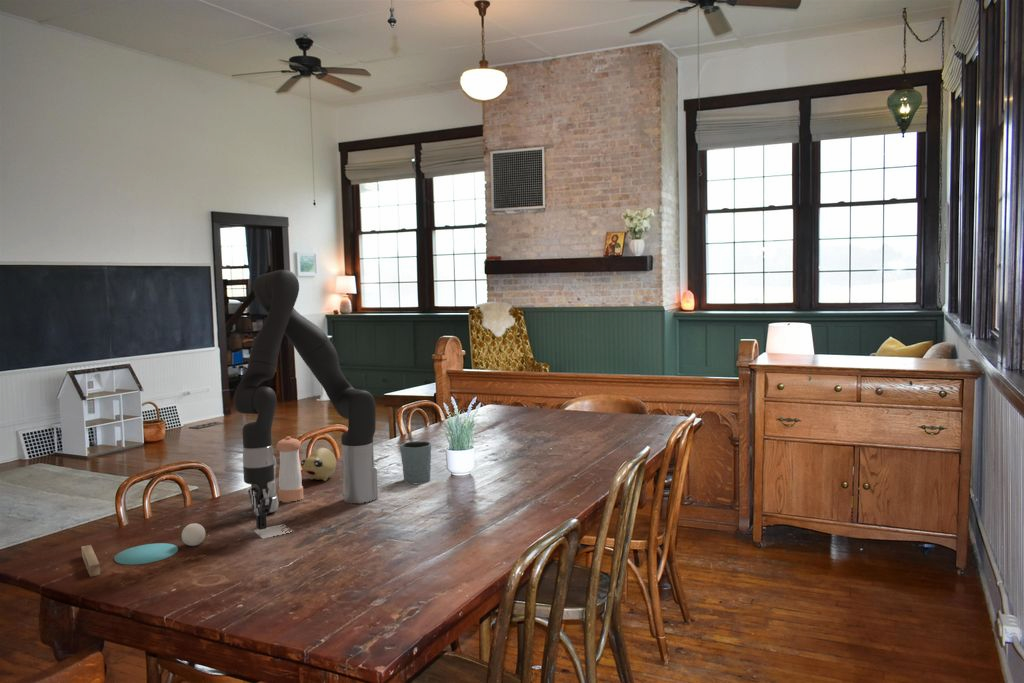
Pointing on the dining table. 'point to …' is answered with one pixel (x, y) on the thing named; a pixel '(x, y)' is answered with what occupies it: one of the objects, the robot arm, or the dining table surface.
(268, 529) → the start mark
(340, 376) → the robot arm
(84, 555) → the bar
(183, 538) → the ball
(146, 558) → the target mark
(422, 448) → the dark grey pot
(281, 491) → the pepper shaker
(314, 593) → the dining table surface
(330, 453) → the yellow plush toy
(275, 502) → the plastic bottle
